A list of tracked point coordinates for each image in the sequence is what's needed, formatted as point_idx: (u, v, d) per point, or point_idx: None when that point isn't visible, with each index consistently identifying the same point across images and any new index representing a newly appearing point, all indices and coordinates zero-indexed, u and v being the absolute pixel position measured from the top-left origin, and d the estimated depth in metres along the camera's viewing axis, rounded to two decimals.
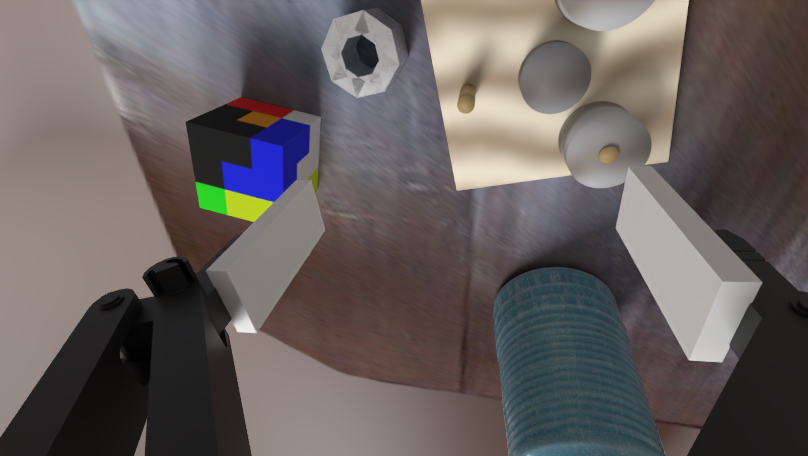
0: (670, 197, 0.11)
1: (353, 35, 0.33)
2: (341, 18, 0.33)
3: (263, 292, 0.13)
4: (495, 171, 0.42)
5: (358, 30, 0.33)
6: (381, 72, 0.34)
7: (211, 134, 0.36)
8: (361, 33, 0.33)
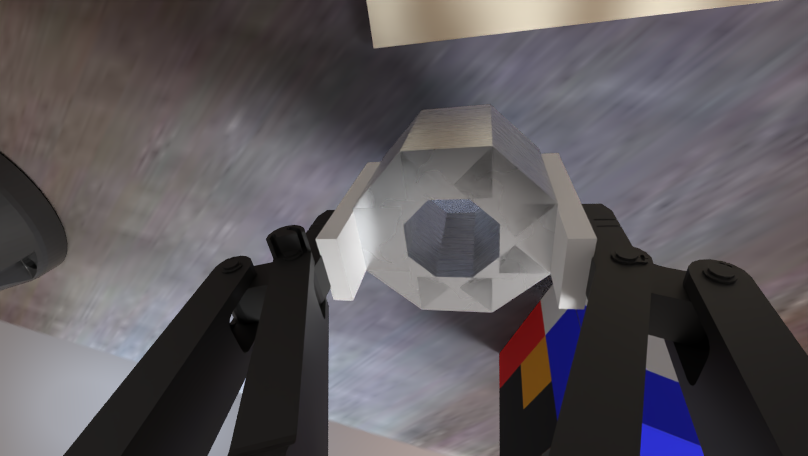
0: (560, 177, 0.13)
1: (402, 242, 0.14)
2: (366, 255, 0.14)
3: (356, 263, 0.14)
4: None
5: (393, 229, 0.13)
6: (502, 199, 0.12)
7: None
8: (400, 224, 0.13)
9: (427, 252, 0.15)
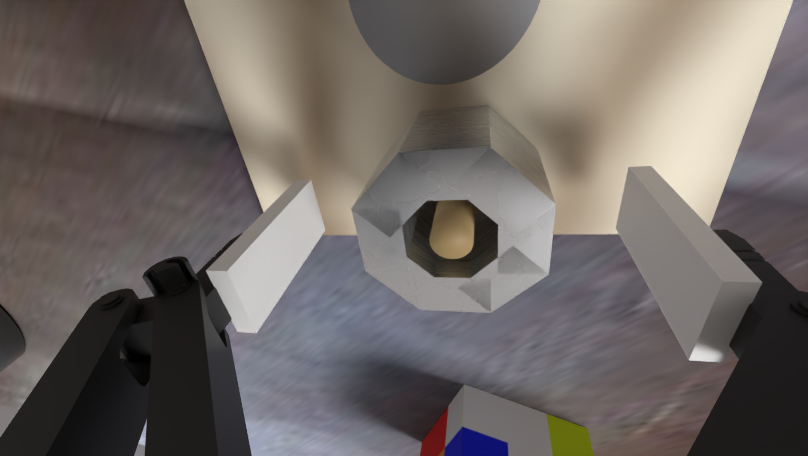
0: (670, 197, 0.11)
1: (401, 242, 0.14)
2: (365, 256, 0.14)
3: (263, 292, 0.13)
4: (692, 133, 0.14)
5: (392, 229, 0.13)
6: (500, 200, 0.12)
7: None
8: (399, 224, 0.13)
9: (426, 252, 0.15)
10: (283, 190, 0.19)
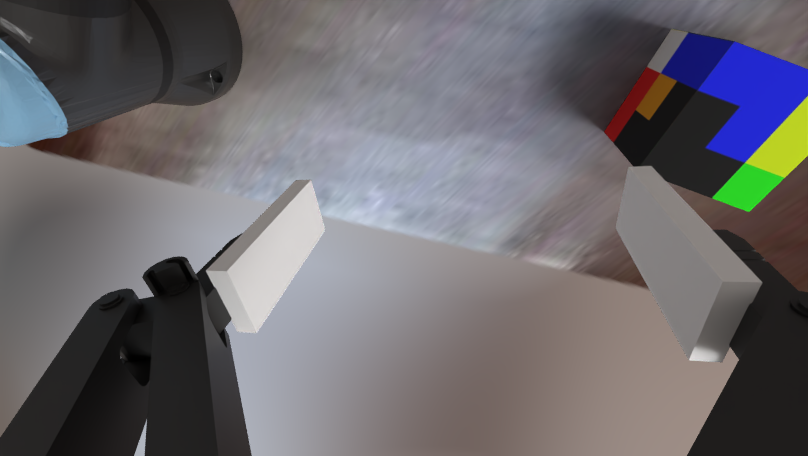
0: (670, 197, 0.11)
1: None
2: None
3: (263, 292, 0.13)
4: None
5: None
6: None
7: (665, 144, 0.29)
8: None
9: None
10: None
